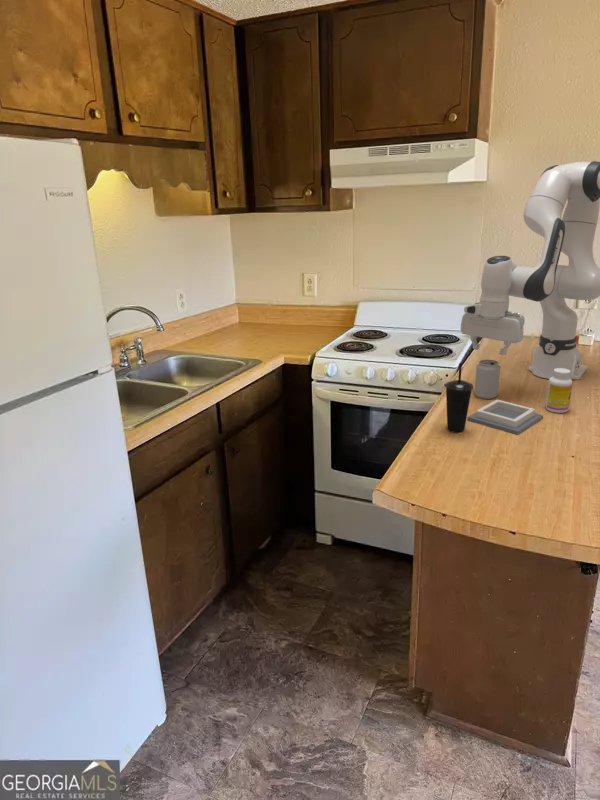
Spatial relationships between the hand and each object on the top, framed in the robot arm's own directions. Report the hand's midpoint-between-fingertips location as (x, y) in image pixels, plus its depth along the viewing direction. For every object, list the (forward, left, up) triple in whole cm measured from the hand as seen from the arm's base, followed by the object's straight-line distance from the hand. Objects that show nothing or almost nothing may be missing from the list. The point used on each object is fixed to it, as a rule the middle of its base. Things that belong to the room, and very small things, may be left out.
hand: (489, 351), depth 185 cm
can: (0, 0, -16) cm, 16 cm away
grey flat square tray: (+14, +14, -15) cm, 25 cm away
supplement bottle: (-4, +22, -16) cm, 27 cm away
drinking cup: (+30, +7, -16) cm, 34 cm away
